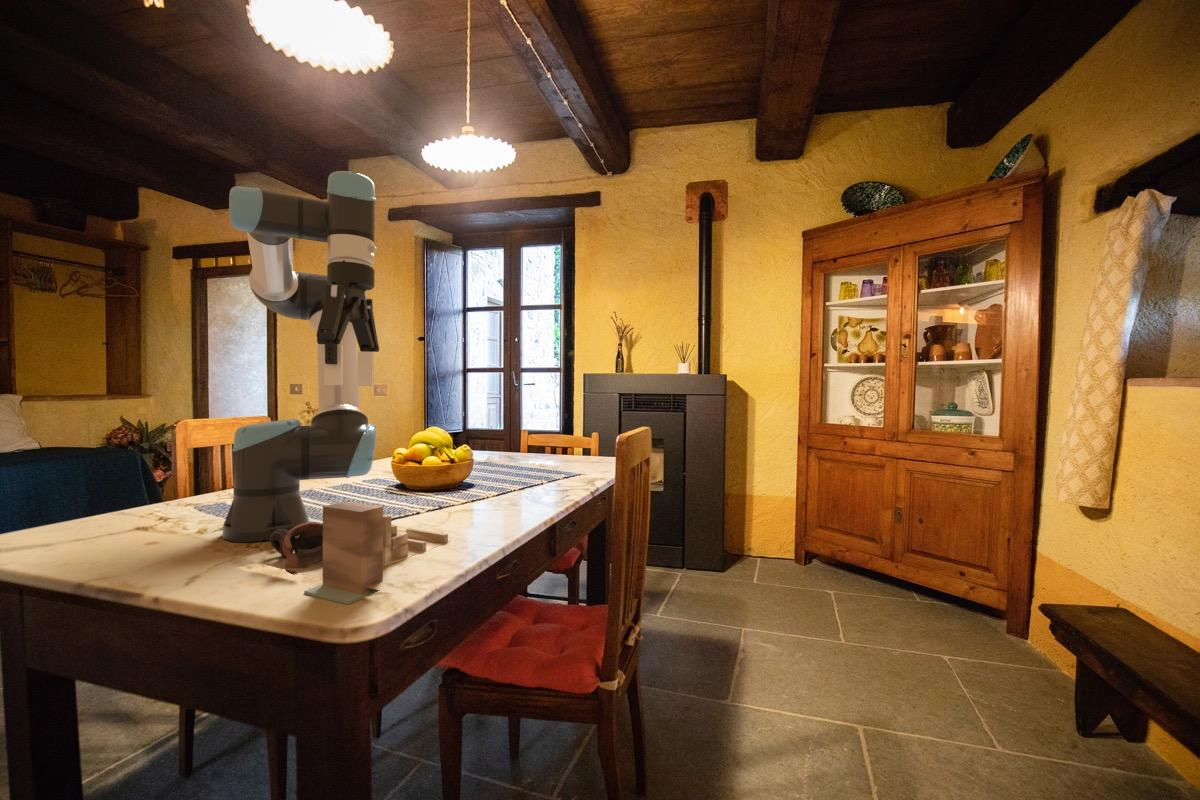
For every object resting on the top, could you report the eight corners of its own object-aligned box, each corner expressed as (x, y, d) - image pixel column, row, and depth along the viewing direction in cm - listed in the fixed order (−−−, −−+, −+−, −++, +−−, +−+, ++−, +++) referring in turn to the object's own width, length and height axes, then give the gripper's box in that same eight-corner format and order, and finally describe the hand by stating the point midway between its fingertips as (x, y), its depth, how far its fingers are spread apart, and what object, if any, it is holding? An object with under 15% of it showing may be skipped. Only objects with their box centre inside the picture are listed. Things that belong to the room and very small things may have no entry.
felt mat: (355, 574, 85) (355, 572, 85) (397, 583, 81) (397, 580, 81) (304, 593, 77) (304, 590, 77) (347, 604, 73) (347, 601, 73)
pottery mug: (350, 557, 95) (350, 524, 91) (318, 599, 87) (318, 564, 83) (286, 540, 95) (284, 506, 91) (248, 579, 87) (244, 543, 83)
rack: (411, 540, 104) (411, 494, 104) (450, 547, 100) (451, 499, 100) (342, 564, 90) (342, 510, 90) (385, 573, 86) (385, 517, 86)
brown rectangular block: (345, 577, 83) (345, 501, 82) (382, 585, 79) (383, 506, 79) (322, 585, 79) (322, 506, 79) (360, 594, 76) (361, 511, 75)
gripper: (342, 245, 80) (342, 384, 80) (396, 280, 105) (395, 386, 105) (291, 244, 79) (291, 384, 79) (357, 279, 104) (357, 386, 104)
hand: (350, 385), depth 92 cm, fingers open, 13 cm apart
